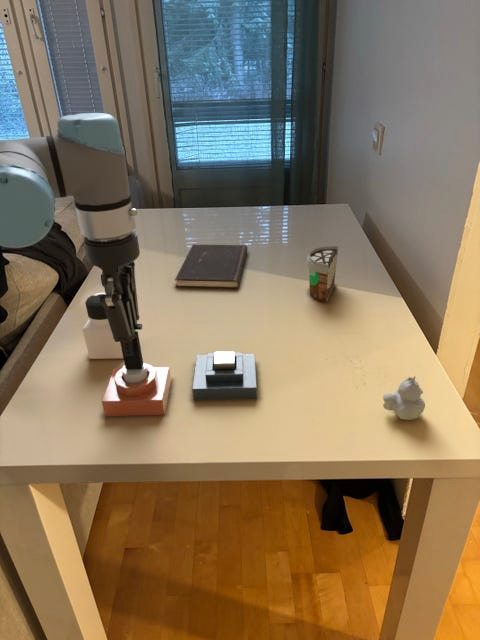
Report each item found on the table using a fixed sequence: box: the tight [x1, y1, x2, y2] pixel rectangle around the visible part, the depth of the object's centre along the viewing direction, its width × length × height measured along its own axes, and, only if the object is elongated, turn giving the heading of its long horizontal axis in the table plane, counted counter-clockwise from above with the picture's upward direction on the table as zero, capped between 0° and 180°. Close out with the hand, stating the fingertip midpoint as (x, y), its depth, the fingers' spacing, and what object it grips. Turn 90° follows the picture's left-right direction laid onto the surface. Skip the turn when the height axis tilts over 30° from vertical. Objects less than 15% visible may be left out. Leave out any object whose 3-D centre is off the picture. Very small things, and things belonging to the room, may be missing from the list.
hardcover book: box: [174, 243, 248, 290], centre depth 126 cm, size 16×23×2 cm
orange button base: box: [101, 362, 172, 417], centre depth 80 cm, size 10×9×5 cm
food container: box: [305, 245, 339, 303], centre depth 111 cm, size 12×6×10 cm, turn 159°
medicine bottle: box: [82, 291, 124, 360], centre depth 92 cm, size 7×7×12 cm
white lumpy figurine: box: [382, 375, 426, 421], centre depth 74 cm, size 5×7×8 cm
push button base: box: [191, 352, 258, 401], centre depth 84 cm, size 11×10×4 cm
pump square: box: [214, 350, 236, 371], centre depth 83 cm, size 4×4×2 cm
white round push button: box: [121, 362, 148, 384], centre depth 79 cm, size 4×4×2 cm
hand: (134, 366), depth 78 cm, fingers closed
